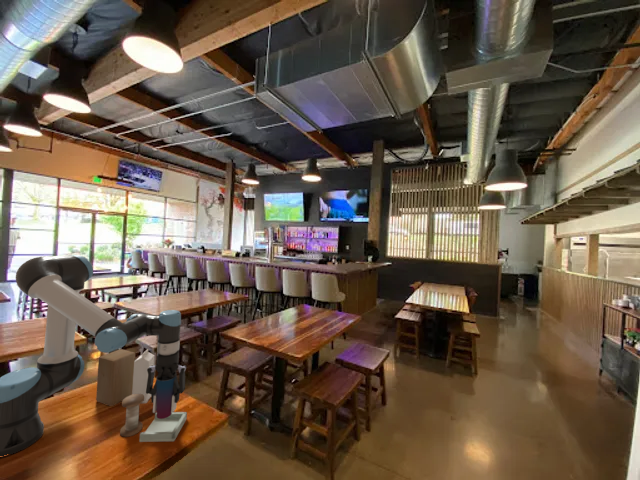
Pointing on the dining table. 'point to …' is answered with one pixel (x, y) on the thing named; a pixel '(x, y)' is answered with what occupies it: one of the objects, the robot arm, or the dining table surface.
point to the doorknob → (132, 415)
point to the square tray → (164, 428)
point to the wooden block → (115, 377)
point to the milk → (142, 374)
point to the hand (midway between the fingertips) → (164, 410)
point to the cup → (164, 396)
